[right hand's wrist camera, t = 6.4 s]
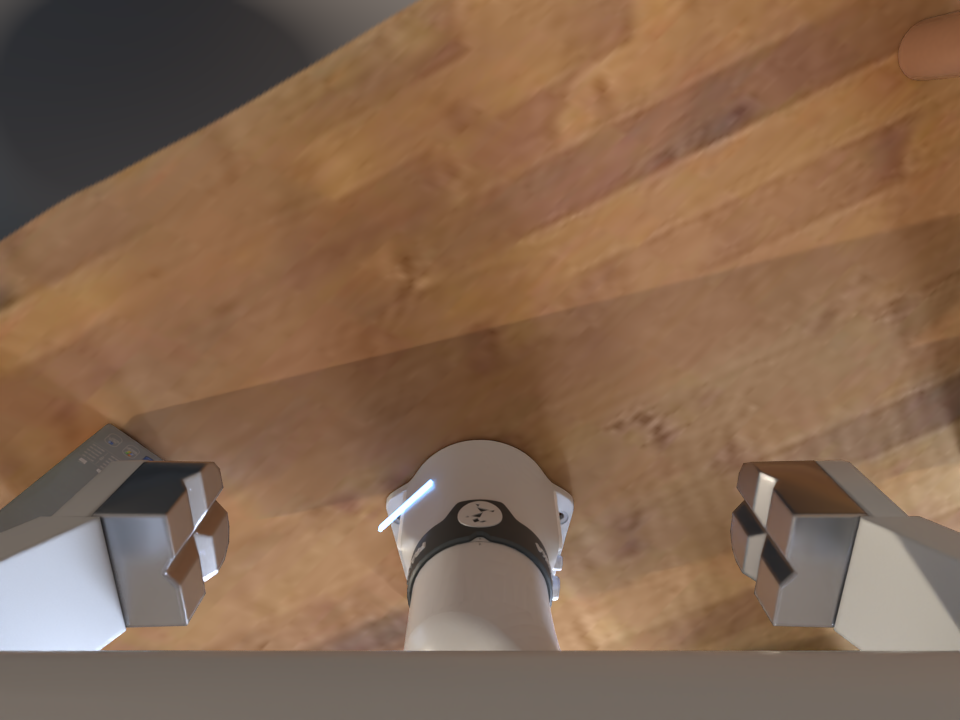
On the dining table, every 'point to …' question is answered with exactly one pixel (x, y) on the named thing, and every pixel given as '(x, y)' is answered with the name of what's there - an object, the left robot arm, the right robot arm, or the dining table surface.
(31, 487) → the hard drive box
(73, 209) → the dining table surface
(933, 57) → the bottle
